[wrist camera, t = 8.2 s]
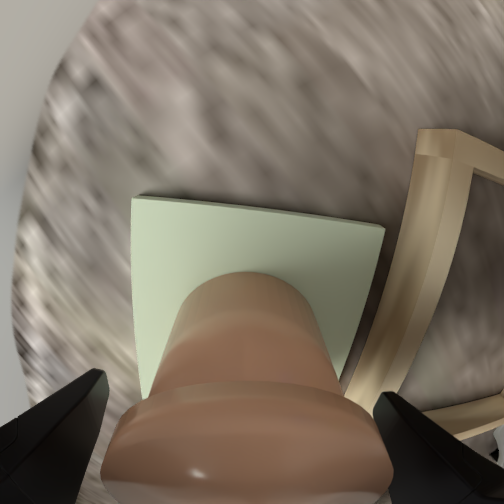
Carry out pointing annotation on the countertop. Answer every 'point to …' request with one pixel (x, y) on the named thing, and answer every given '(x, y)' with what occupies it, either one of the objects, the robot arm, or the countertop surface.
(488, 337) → the countertop surface
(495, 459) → the dog bowl
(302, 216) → the potting mat
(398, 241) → the wooden square frame
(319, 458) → the peach rimmed cylinder
